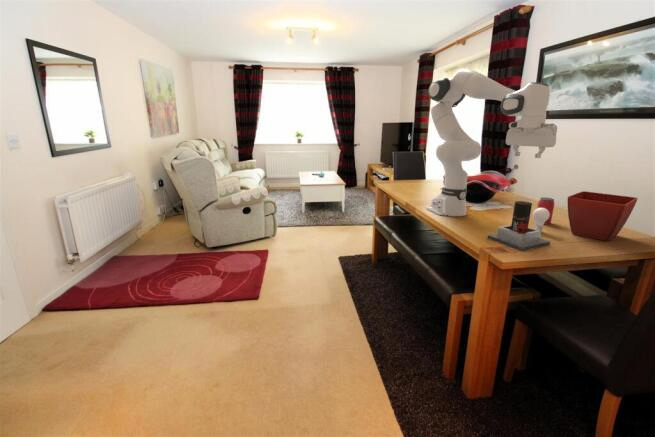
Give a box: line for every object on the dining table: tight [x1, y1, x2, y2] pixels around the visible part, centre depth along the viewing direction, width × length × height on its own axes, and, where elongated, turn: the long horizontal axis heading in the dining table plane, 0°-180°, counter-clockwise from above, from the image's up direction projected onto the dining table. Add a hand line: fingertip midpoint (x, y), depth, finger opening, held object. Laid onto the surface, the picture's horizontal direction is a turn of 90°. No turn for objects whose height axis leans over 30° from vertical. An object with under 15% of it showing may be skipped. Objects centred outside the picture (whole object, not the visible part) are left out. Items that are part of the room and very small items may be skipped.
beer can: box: [536, 196, 555, 225], centre depth 155 cm, size 7×7×12 cm
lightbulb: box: [532, 207, 550, 232], centre depth 142 cm, size 6×6×11 cm
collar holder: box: [486, 224, 551, 252], centre depth 131 cm, size 16×16×6 cm
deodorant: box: [510, 200, 533, 233], centre depth 130 cm, size 6×6×15 cm
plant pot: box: [567, 190, 639, 242], centre depth 136 cm, size 19×19×17 cm
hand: (526, 157), depth 137 cm, fingers open, 8 cm apart
